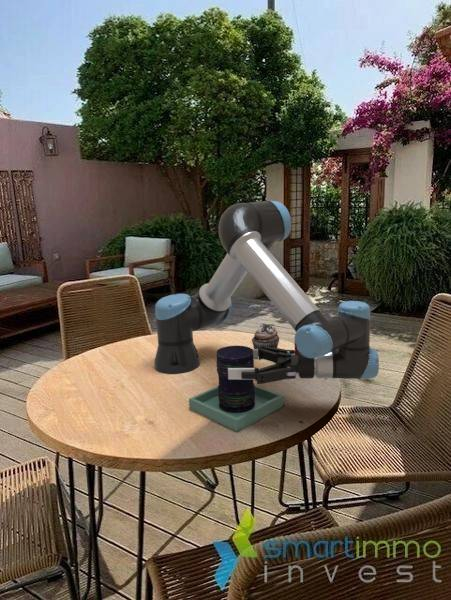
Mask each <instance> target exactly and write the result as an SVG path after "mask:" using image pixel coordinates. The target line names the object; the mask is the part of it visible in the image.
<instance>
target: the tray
mask: <svg viewBox="0 0 451 600" xmlns="http://www.w3.org/2000/svg"><path fill="white" fill-rule="evenodd" d="M254 386H255V400H254V401H255V406H254V408H253V409H251V410H249V411H247V412H243V413H229V412H225V411H223V410H222V409H220V407H219V398H218V385H217V386H215V387H213V388H210V389H208V390H206V391H203V392H201V393H199V394H197V395H195V396H192V397H190V398H188V405H189V407H188V408H189V410H190V411H193V412H194V413H197V414H199V415H201V416H204V417H205V418H207V419H209V420H211V421H214V422H215V423H218V424H220V425H221V426H225V427H226V428H229V429H231V430H232V431H235V432H236V433H237V432H240V431H242V430H244V429H245V428H247V427H248V426H251V425H252V424H255V423H256V422H258V421H259V420H261V419H263V418H265V417H267V416H268V415H270V414H272V413H274V412H276V411H277V410H279V409H281V408H284V407H285V394H282V393H279V392H277V391H273V390H271V389H268V388H265V387H262V386H260V385H258V384H254Z"/></svg>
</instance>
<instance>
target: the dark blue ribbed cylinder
mask: <svg viewBox="0 0 451 600" xmlns="http://www.w3.org/2000/svg"><path fill="white" fill-rule="evenodd" d="M252 349H253V348H252V347H248V346H244V345H228V346H223V347H221V348H219V349H217V350H216V352H215V353H216V354H215V355H216V356H215V357H216V360H215V361H216V362H215V363H216V374H217V375H218V377H217V378H218V385H217V386H218V398H219V407H220V409H222V410H223V411H225V412H229V413H243V412H247V411H249V410H251V409H253V408H254V406H255V401H254V400H255V386H254V385H255V383H254V380H242V379H228V368H255V367H254V366H255V359H253V350H252Z"/></svg>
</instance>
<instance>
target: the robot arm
mask: <svg viewBox="0 0 451 600" xmlns="http://www.w3.org/2000/svg"><path fill="white" fill-rule="evenodd" d="M291 218H292V217H291V215H290V211H289V210H288V208H287V207H286V206H285V204H284V203H281V202H280V201H278V200H277V201H276V200H269V199H268V200H264V201H263V200H262V201H252V202H240V203H239V202H238V203H235V204H232V205H231V206H229V207H228V208H227V209H225V211H224V212H223V213H222V215H221V216H220V219H219V222H218V236H219V241H220V242H221V245H222V246H223V249H224V250H225V253H226V254H225V256H224V258H223V259H222V261H221V263H220V264H219V266H218V268H217V269H216V271H215V272H214V274H213V276H212V277H211V279H210V280H209V281H208V282H207V283H205V284H203V285H202V286H200V288H199V290H198V291H197V293H196V294H194V295H191V296H190V295H189V294H186V293H176V294H170V295H167V296H164V297H161V298H160V299H159V300H158V301H156V303H155V305H154V307H155V310H154V313H155V314H154V316H155V317H154V318H155V321H156V334H157V350H156V354H155V359H154V368H155V370H156V371H158V372H160V373H163V374H181V373H187V372H190V371H193V370H194V369H196V368H198V367H199V366H200V363H201V361H200V360H201V359H200V354H199V353H198V350H197V348H196V346H195V342H194V335H193V332H195V331H198V330H202V329H205V328H210V327H212V326H217V325H220V324H222V323H224V322H226V321H227V320H228V319H229V318H230V316H231V314H232V309H231V308H232V307H233V305H232V296H233V294H234V293H235V292H236V290H237V289H238V287H239V286H240V284H241V282H242V281H243V280H244V278H245V277H246V276H247V274H249V276H250V277H252V279H253V280H254V281H255V283H256V284H257V285H258V286H259V288H260V289H261V290H262V291H263V293H264V294H265V295H266V296H267V298H268V299H269V300H270V301H271V303H272V304H273V305H274V306H275V307H276V309H277V310H278V311H279V313H281V315H282V316H283V317H284V319H285V320H286V322H288V323H289V325H290V326H291V328H292V329H293V330H294V331H295V335H294V345H295V344H296V346H297V349H298V355H295V349H285V348H278V347H277V348H273V347H267V346H261V348H259V349H254V348H251V349H252V350H253V359H254V360H258V361H261V360H265V361H267V362H271V363H274V364H271V365H268V366H265V367H261V368H258V367H257V366H255V367H254V368H228V379H242V380H253V381H256V385H262V384H267V383H272V382H273V383H274V382H277V381H282V380H283V381H284V380H290V379H293V380H294V379H296V376H297V374H296V373H298V377H299V378H300V379H314V377H315V378H316V379H323V380H328V379H348V380H349V379H351V380H353V379H356V380H365V379H375V378H376V377H377V376H378V374H379V370H380V363H379V360H380V359H379V352H378V350H376V349H375V348H371V346H370V344H371V343H370V341H371V340H370V339H371V338H370V337H371V336H370V335H371V321H372V319H371V308H370V305H369V304H367V303H366V302H365V301H360V300H358V301H357V300H347V301H344V302H343V301H342V302H340V304H339V306H338V309H337V314H336V315H333V316H331V317H328V318H327V317H326V316H325V314H324V313H323V312H321V310H320V309H319V308H318V306H317V305H316V304H315V303H314V302H313V301H312V300H311V298H310V297H309V296H308V295H307V293H306V292H304V290H303V289H302V288H301V287H300V285H299V284H298V283H297V282H296V281H295V280H294V279H293V277H292V276H291V275H290V274H289V273H288V271H287V270H286V269H285V268H284V267H283V266H282V265H281V263H280V262H279V260H277V258H276V257H275V256H274V255H273V254H272V252H271V251H270V250H271V249H272V248H273V246H274V245H275V243H276V242H282V241H283V240H285V239H287V237H289V235H290V233H291V230H292V222H291V220H292V219H291Z"/></svg>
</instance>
